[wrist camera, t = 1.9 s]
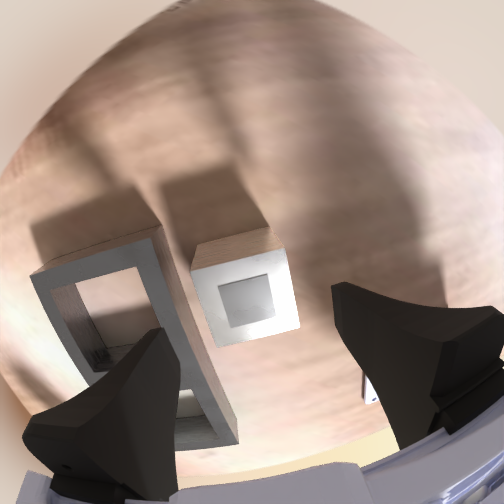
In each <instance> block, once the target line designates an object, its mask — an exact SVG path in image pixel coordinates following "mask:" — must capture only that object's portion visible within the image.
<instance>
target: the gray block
mask: <svg viewBox="0 0 504 504" xmlns="http://www.w3.org/2000/svg"><path fill="white" fill-rule="evenodd" d="M190 274H191V277H192V280H193V283H194V286H195V289H196V292H197V295H198V298H199V300H200V303H201V306H202V309H203V312H204V315H205V317H206V320H207V323H208V326H209V328H210V331H211V334H212V336H213V339H214V342H215V344H216V347H217V348H218V347H222V346H227V345H231V344H236V343H240V342H244V341H249V340H253V339H257V338H261V337H265V336H269V335H273V334H277V333H280V332H284V331H288V330H291V329H295V328H299V327H300V326H299V320H298V314H297V309H296V303H295V298H294V293H293V287H292V282H291V277H290V272H289V266H288V261H287V256H286V251H285V247H284V246H283V245H282V243H281V242H280V240H279V239H278V238H277V236H276V235H275V233H274V232H273V231H272V229H271V228H270V226H268V227H264V228H260V229H256V230H252V231H248V232H244V233H240V234H236V235H232V236H228V237H224V238H221V239H217V240H213V241H209V242H205V243H201V244H197V248H196V251H195V255H194V258H193V262H192V265H191V269H190Z"/></svg>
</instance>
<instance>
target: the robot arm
mask: <svg viewBox="0 0 504 504" xmlns="http://www.w3.org/2000/svg"><path fill="white" fill-rule="evenodd" d="M331 289H332V298H333V308H334V319H335V326H336V328H337V330H338V332H339V334H340V336H341V338H342V340H343V342H344V344H345V345H346V347H347V348H348V350H349V351H350V353H351V354H352V356H353V357H354V359H355V360H356V362H357V363H358V364H359V366H360V367H361V369H362V370H363V372H364V373H365V389H364V402H365V404H370V403H373V402H375V401H377V400H380V402H381V405H382V407H383V409H384V411H385V413H386V416H387V418H388V420H389V423H390V425H391V428H392V430H393V432H394V435H395V437H396V440H397V443H398V446H399V449H400V451H399V452H396V453H394V454H392V455H390V456H388V457H386V458H383V459H381V460H379V461H376V462H374V463H371V464H369V465H366V466H364V467H361V468H360V467H359V466H358V465H357V464H355V463H347V462H333V463H329V464H324V465H319V466H313V467H310V468H306V469H302V470H299V471H295V472H290V473H286V474H281V475H277V476H272V477H267V478H262V479H256V480H250V481H243V482H235V483H227V484H218V485H207V486H197V487H191V488H184V489H181V490H178V483H177V475H176V464H175V442H174V430H175V420H176V412H177V405H178V398H179V390H180V383H181V369H180V361H179V359H178V357H177V355H176V353H175V351H174V349H173V347H172V344H171V342H170V340H169V338H168V336H167V333H166V331H165V329H164V327H162V328H157V329H152V330H150V331H149V332H148V333H146V334H145V335H144V336H143V337H142V338H141V339H140V341H139V342H138V343H137V344H136V345H135V346H134V347H133V348H132V349H131V350H130V351H129V352H128V353H127V354H126V355H125V356H124V357H123V358H122V359H121V360H120V361H119V362H118V363H117V364H116V365H115V366H114V367H113V368H112V369H111V370H110V371H109V372H108V373H107V374H105V375H104V376H103V377H102V378H100V379H99V380H98V381H97V382H95V383H94V384H93V385H91V386H90V387H88V388H87V389H85V390H84V391H82V392H81V393H79V394H78V395H76V396H75V397H73V398H71V399H69V400H68V401H66V402H64V403H62V404H60V405H58V406H56V407H53V408H51V409H49V410H46V411H43V412H41V413H38V414H35V415H33V416H32V418H31V419H30V421H29V423H28V425H27V427H26V429H25V431H24V433H23V435H22V439H23V442H24V444H25V446H26V447H27V449H28V450H29V451H30V452H31V453H32V454H33V455H34V456H35V457H36V458H37V459H38V460H40V461H41V462H42V463H43V464H44V465H45V466H46V467H47V468H49V469H50V470H51V471H52V472H53V473H54V475H53V478H50V477H48V476H46V475H43V474H39V473H36V472H33V471H30V470H28V471H27V473H26V475H25V478H24V481H23V484H22V486H21V489H20V492H19V495H18V498H17V501H16V504H504V369H503V368H502V367H503V366H504V361H503V360H502V359H500V358H499V357H500V354H501V351H502V348H503V345H504V314H502V313H501V312H500V311H498V310H497V309H496V308H494V307H493V306H483V307H474V308H439V307H429V306H422V305H417V304H412V303H407V302H403V301H399V300H396V299H392V298H389V297H386V296H383V295H380V294H377V293H374V292H372V291H369V290H366V289H364V288H361V287H359V286H356V285H353V284H351V283H347V282H341V283H338V284H335V285H331Z"/></svg>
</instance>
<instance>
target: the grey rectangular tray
mask: <svg viewBox="0 0 504 504" xmlns="http://www.w3.org/2000/svg"><path fill="white" fill-rule="evenodd" d="M136 266H137V269H138V272H139V274H140V277H141V279H142V282H143V285H144V287H145V290H146V292H147V295H148V297H149V300H150V302H151V305H152V307H153V309H154V312H155V314H156V317H157V319H158V321H159V323H160V326H161V328H162V327H164V329H165V331H166V333H167V336H168V338H169V340H170V342H171V344H172V347H173V349H174V351H175V353H176V355H177V357H178V359H179V361H180V369H181V383H180V390H187V389H191V390H192V391H193V393H194V395H195V397H196V399H197V401H198V402H199V404H200V406H201V408H202V410H203V411H204V413H205V415H203V416H196V417H188V418H179V419H176V420H175V430H174V442H175V451H186V450H198V449H207V448H215V447H223V446H230V445H236V444H239V439H238V429H237V418H236V416H235V414H234V412H233V410H232V408H231V406H230V403H229V401H228V399H227V397H226V395H225V392H224V390H223V388H222V386H221V383H220V381H219V379H218V377H217V374H216V372H215V370H214V367H213V365H212V362H211V360H210V358H209V355H208V353H207V350H206V348H205V345H204V343H203V340H202V338H201V335H200V333H199V330H198V328H197V325H196V323H195V320H194V317H193V315H192V312H191V309H190V307H189V304H188V301H187V298H186V296H185V293H184V290H183V287H182V284H181V281H180V279H179V276H178V273H177V270H176V267H175V264H174V261H173V258H172V255H171V252H170V249H169V245H168V242H167V239H166V236H165V233H164V229H163V226H162V225H160V226H156V227H153V228H149V229H146V230H142V231H139V232H136V233H132V234H129V235H126V236H123V237H119V238H116V239H113V240H110V241H107V242H103V243H100V244H97V245H94V246H91V247H88V248H85V249H82V250H79V251H76V252H73V253H70V254H67V255H64V256H61V257H58V258H56V259H53V260H51V261H49V262H48V263H46V264H45V265H44V266H42V267H41V268H39V269H38V270H37V271H35V272H34V273H33V274H31V275H30V278H31V281H32V283H33V286H34V288H35V290H36V292H37V295H38V297H39V299H40V301H41V303H42V306H43V308H44V310H45V312H46V314H47V316H48V318H49V320H50V322H51V324H52V326H53V327H54V329H55V331H56V333H57V335H58V337H59V338H60V340H61V342H62V344H63V346H64V347H65V349H66V351H67V352H68V354H69V356H70V357H71V359H72V361H73V362H74V364H75V365H76V367H77V369H78V370H79V372H80V373H81V375H82V376H83V378H84V379H85V381H86V382H87V384H88V385H89V386H91V385H93V384H94V383H95V382H97V381H98V380H99V379H100V378H102V377H103V376H104V375H105V374H107V373H108V372H109V371H110V370H111V369H112V368H113V367H114V366H115V365H116V364H117V363H118V362H119V361H120V360H121V359H122V358H123V357H124V356H125V355H126V354H127V353H128V352H129V351H130V350H131V349H132V348H133V347H134V346H135V345H136V344H131V345H124V346H118V347H112V348H106V347H105V345H104V343H103V341H102V340H101V338H100V336H99V334H98V332H97V330H96V328H95V326H94V324H93V322H92V320H91V318H90V316H89V314H88V312H87V310H86V308H85V306H84V304H83V301H82V299H81V297H80V295H79V292H78V290H77V288H76V286H75V283H77V282H80V281H84V280H88V279H91V278H95V277H99V276H102V275H106V274H110V273H113V272H117V271H121V270H124V269H128V268H132V267H136ZM180 390H179V391H180Z"/></svg>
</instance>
